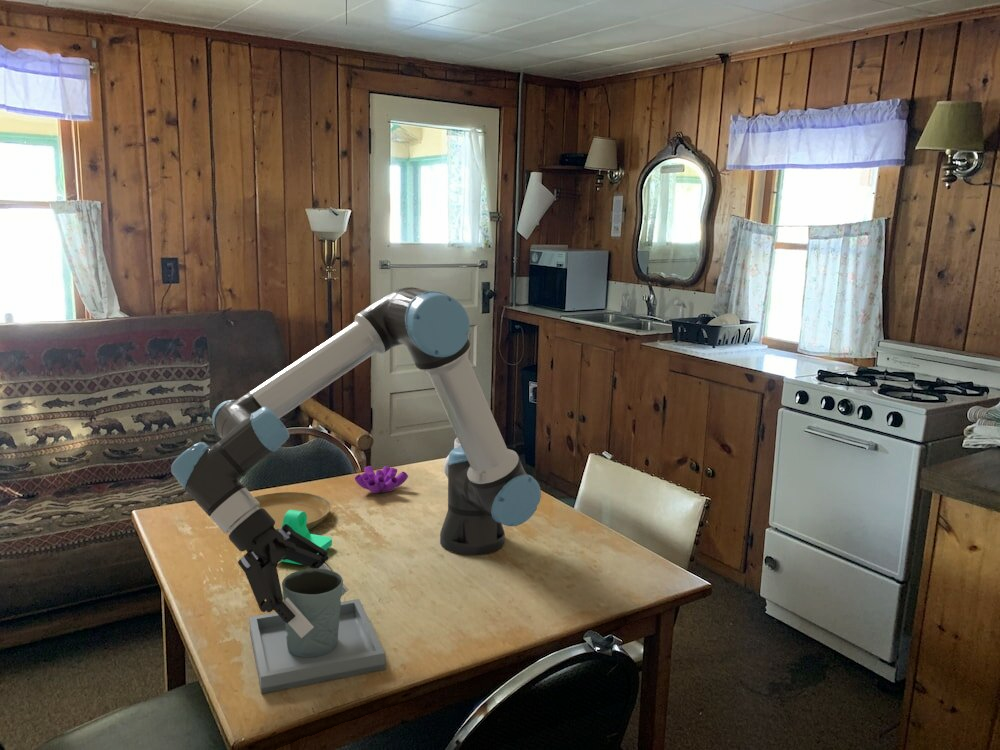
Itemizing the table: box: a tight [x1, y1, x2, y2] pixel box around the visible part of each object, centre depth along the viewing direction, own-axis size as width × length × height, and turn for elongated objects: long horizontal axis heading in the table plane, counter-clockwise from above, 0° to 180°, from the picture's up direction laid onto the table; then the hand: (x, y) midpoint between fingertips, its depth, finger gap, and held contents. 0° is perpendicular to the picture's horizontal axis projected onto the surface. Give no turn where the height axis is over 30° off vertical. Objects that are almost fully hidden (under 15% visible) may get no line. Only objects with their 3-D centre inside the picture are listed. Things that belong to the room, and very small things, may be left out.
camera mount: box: [280, 510, 333, 566], centre depth 173 cm, size 12×8×10 cm, turn 162°
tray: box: [248, 598, 386, 695], centre depth 136 cm, size 20×20×3 cm
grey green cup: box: [281, 568, 344, 658], centre depth 135 cm, size 10×10×12 cm
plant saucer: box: [254, 491, 332, 531], centre depth 193 cm, size 24×24×3 cm
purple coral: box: [354, 465, 409, 494], centre depth 214 cm, size 11×15×10 cm
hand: (326, 613), depth 134 cm, fingers open, 13 cm apart
